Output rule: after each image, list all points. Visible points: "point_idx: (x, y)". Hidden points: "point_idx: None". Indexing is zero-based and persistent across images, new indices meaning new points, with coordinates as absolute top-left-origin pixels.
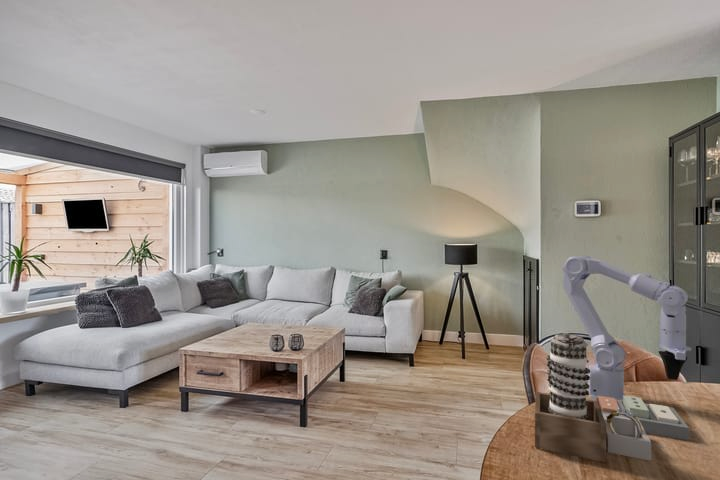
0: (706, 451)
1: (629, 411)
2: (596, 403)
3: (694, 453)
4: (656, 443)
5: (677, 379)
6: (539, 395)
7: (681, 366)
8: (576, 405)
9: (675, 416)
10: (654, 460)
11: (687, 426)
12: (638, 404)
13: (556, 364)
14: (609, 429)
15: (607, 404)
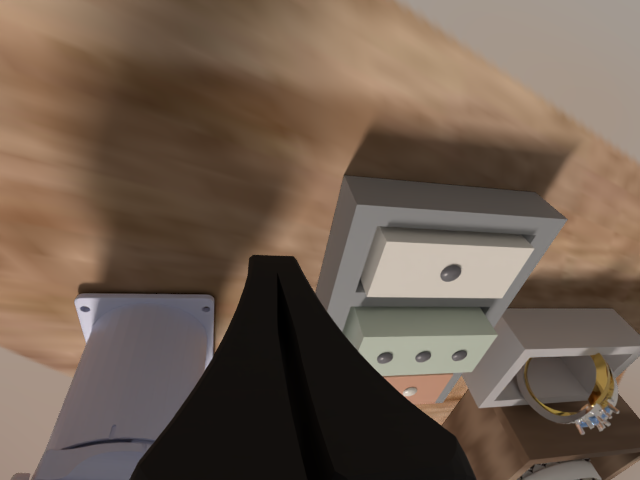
0: (609, 170)
1: (607, 416)
2: (544, 460)
3: (610, 210)
4: (540, 280)
5: (296, 260)
6: None
7: (365, 361)
8: None
9: (499, 247)
10: (612, 302)
11: (555, 220)
12: (441, 351)
13: None
14: (570, 397)
15: (408, 395)
